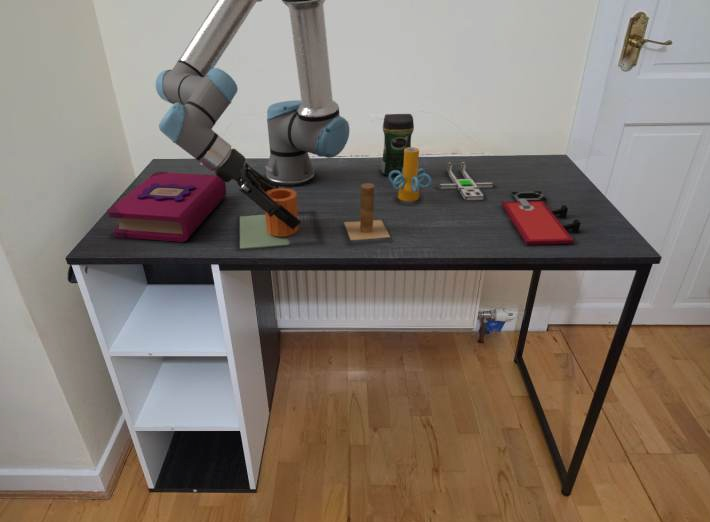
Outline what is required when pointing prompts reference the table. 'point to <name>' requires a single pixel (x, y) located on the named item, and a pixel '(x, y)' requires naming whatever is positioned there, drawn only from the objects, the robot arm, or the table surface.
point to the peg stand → (366, 218)
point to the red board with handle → (539, 219)
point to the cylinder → (409, 176)
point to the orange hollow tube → (289, 202)
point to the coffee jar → (396, 141)
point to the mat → (258, 234)
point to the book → (167, 206)
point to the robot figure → (465, 184)
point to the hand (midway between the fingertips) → (295, 217)
